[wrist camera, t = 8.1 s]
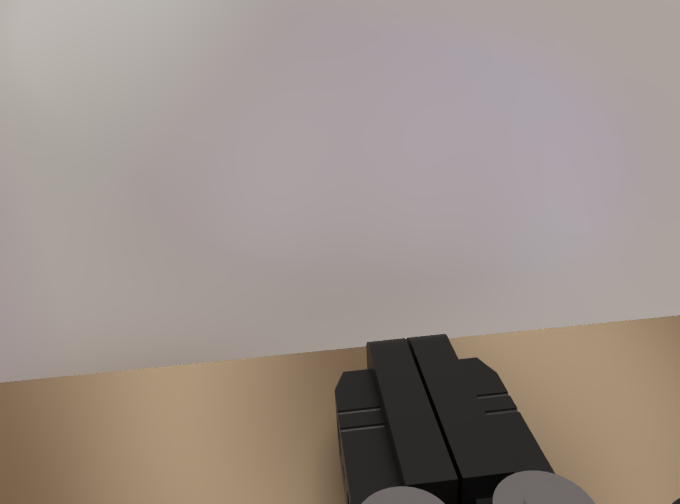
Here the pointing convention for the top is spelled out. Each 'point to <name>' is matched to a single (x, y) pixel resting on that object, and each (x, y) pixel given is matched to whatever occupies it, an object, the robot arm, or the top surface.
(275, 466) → the near flap
